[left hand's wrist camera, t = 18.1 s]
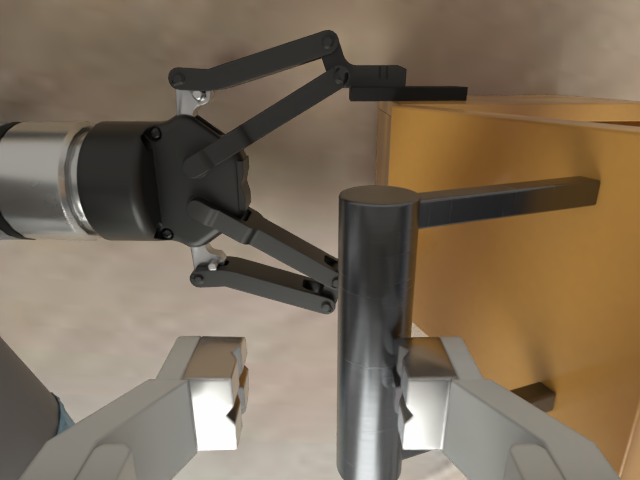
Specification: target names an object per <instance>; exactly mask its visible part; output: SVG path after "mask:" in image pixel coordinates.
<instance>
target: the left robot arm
mask: <svg viewBox="0 0 640 480" xmlns="http://www.w3.org/2000/svg"><path fill="white" fill-rule="evenodd" d="M246 356H247V346H246V340H245V337H211V336H203V337H201V336H181V337H179V338H177V340H176V342H175V344H174V345H173V347H172V349H171V351H170V353H169V355H168V357H167V359H166V360H165V362H164V364H163V366H162V368H161V370H160V372H159V373H158V375H157V377H156V379H149V380H147V381H145V382H144V383H142V384H141V385H139V386H137V387H136V388H134V389H132V390H131V391H129V392H127V393H126V394H124V395H122V396H121V397H119V398H117V399H116V400H114V401H113V402H111V403H109V404H108V405H106V406H104V407H103V408H101V409H99V410H98V411H96V412H94V413H93V414H91V415H89V416H88V417H86V418H85V419H83V420H81V421H80V422H78V423H76V424H75V425H73V426H71V427H70V428H68V429H66V430H65V431H63V432H61V433H60V434H58V435H57V436H55V437H53V438H52V439H50V440H48V441H47V442H46V443H45V444H44V445H43V447H42V448H41V450H40V451H39V452H38V454H37V455H36V456H35V458H34V459H33V460H32V462H31V463H30V464H29V466H28V467H27V468H26V470H25V471H24V473H23V474H22V475H21V477H20V478H19V479H18V480H172V479H173V478H174V476H175V475H176V474H177V473H178V472H179V471H180V470H181V469H182V468H183V467H184V466H185V465H186V464H187V463H188V462H189V461H190V460H191V459H192V458H193V457H194V456H195V455H196V454H197V450H231V449H237V448H238V443H239V439H240V434H241V430H242V414H243V413H244V412H245V411H246V407H247V401H248V391H249V374H248V369H247V368H246V366H245V365H244V364H245V360H246ZM393 357H394V361H395V367H394V368H393V370H392V377H391V395H392V403H393V408H394V411H395V412H396V413H397V414H398V424H397V426H398V431H399V435H400V440H401V444H402V448H403V449H408V450H443V453H444V454H445V456H446V457H447V458H448V459H449V460H450V461H451V462H452V463H453V464H454V465H455V466H456V467H457V468H458V469H459V470H460V471H461V472H462V473H463V474H464V475H465V476H466V478H467V479H468V480H621V478H620V477H619V476H618V474H617V473H616V471H615V470H614V469H613V467H612V466H611V465H610V463H609V462H608V461H607V459H606V458H605V456H604V455H603V454H602V452H601V451H600V450H599V448H598V447H597V446H596V444H595V443H594V442H593V441H591V440H589V439H588V438H586V437H584V436H583V435H581V434H580V433H578V432H576V431H575V430H573V429H571V428H570V427H568V426H566V425H565V424H563V423H562V422H560V421H558V420H557V419H555V418H553V417H552V416H550V415H548V414H547V413H545V412H543V411H542V410H540V409H539V408H537V407H535V406H534V405H532V404H530V403H529V402H527V401H525V400H524V399H522V398H521V397H519V396H517V395H516V394H514V393H512V392H511V391H509V390H507V389H506V388H504V387H502V386H501V385H499V384H498V383H496V382H494V381H493V380H491V379H484V378H483V376H482V374H481V372H480V370H479V368H478V367H477V365H476V363H475V361H474V359H473V357H472V356H471V354H470V352H469V350H468V348H467V346H466V344H465V343H464V341H463V339H462V338H461V337H460V336H442V337H411V338H394V345H393Z"/></svg>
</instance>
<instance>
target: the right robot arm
mask: <svg viewBox="0 0 640 480" xmlns="http://www.w3.org/2000/svg"><path fill="white" fill-rule="evenodd" d="M321 58H322V60H323V63H324V66H325V69H326V72H325V73H323V74H322V75H320V76H319V77H317V78H315V79H314V80H312V81H311V82H309V83H307V84H306V85H304V86H303V87H301V88H299V89H298V90H296V91H295V92H293V93H291V94H290V95H288V96H287V97H285V98H284V99H282V100H280V101H279V102H277V103H276V104H274V105H272V106H271V107H269V108H268V109H266V110H264V111H263V112H261V113H260V114H258V115H256V116H255V117H253V118H252V119H250V120H248V121H247V122H245V123H244V124H242V125H240V126H239V127H237V128H235V129H234V130H232V131H231V132H229V133H227V134H226V135H225V134H224V133H223V132H221V131H220V130H218V129H217V128H215V127H214V126H213V125H211V124H210V123H208V122H207V121H206V120H204V119H203V118H201V117H200V116H198V115H197V114H198V109H199V108H200V106H202V105H204V104H208V103H210V102H211V101H212V100H213V98H214V91H215V90H222V89H228V88H231V87H235V86H238V85H241V84H244V83H247V82H250V81H253V80H256V79H259V78H262V77H266V76H269V75H272V74H275V73H278V72H281V71H284V70H287V69H290V68H293V67H296V66H299V65H303V64H306V63H309V62H312V61H315V60H318V59H321ZM168 79H169V83H170V84H171V86H172V87H174V88H175V89H176V104H177V115H176V116H174V117H173V118H171V119H170V120H168V121H162V122H125V121H105V122H100V123H98V124H96V125H95V124H93V123H90V122H88V121H23V122H11V123H0V239H30V240H35V239H43V240H98V239H100V238H102V237H103V238H104V239H107V240H125V241H163V240H174V241H178V242H181V243H183V244H185V245H187V246H189V247H191V252H192V258H193V264H194V271H193V272H192V274H191V275H190V281H191V283H192V284H193V285H194V286H196V287H222V286H225V287H229V288H233V289H236V290H240V291H243V292H247V293H251V294H254V295H258V296H261V297H265V298H269V299H272V300H276V301H279V302H283V303H287V304H290V305H294V306H297V307H301V308H305V309H308V310H312V311H315V312H319V313H323V314H330V313H332V312H333V311H334V309H335V304H336V301H337V299H338V259H337V258H335V257H333V256H331V255H329V254H328V253H326V252H324V251H322V250H320V249H319V248H317V247H315V246H313V245H311V244H310V243H308V242H306V241H304V240H302V239H301V238H299V237H297V236H295V235H293V234H292V233H290V232H288V231H286V230H285V229H283V228H281V227H279V226H277V225H276V224H274V223H272V222H270V221H268V220H267V219H265V218H264V217H263V216H262V215H261V214H260V213H259V212H257V211H255V210H253V209H252V208H250V207H249V204H250V203H251V194H250V188H249V185H248V182H247V175H248V170H249V157H248V156H246V153H245V151H244V150H243V149H244V148H246V147H247V146H249V145H250V144H252V143H253V142H255V141H257V140H258V139H260V138H261V137H263V136H265V135H266V134H268V133H270V132H271V131H273V130H274V129H276V128H278V127H279V126H281V125H283V124H284V123H286V122H288V121H289V120H291V119H292V118H294V117H296V116H297V115H299V114H301V113H302V112H304V111H305V110H307V109H309V108H310V107H312V106H314V105H315V104H317V103H318V102H320V101H322V100H323V99H325V98H327V97H328V96H330V95H332V94H333V93H335V92H336V91H338V90H340V89H341V88H349V99H350V101H466V99H467V89H468V87H458V86H405V83H406V69H405V68H403V67H400V66H398V65H352V64H350V63H349V62H347V61H346V59H345V58H344V55H343V52H342V49H341V46H340V43H339V39H338V36H337V34H336V33H334V32H333V31H331V30H325V31H322V32H319V33H316V34H313V35H310V36H307V37H304V38H301V39H298V40H295V41H292V42H289V43H286V44H283V45H280V46H277V47H274V48H271V49H268V50H265V51H262V52H258V53H255V54H252V55H249V56H246V57H243V58H240V59H237V60H234V61H231V62H228V63H225V64H222V65H219V66H216V67H213V68H210V69H195V68H179V67H178V68H174V69H172V70H171V71H170V73H169V77H168ZM222 233H223V234H225V235H227V236H229V237H231V238H232V239H234V240H236V241H238V242H240V243H242V244H249V245H252V246H254V247H255V248H257V249H259V250H261V251H263V252H265V253H266V254H268V255H270V256H272V257H274V258H276V259H278V260H279V261H281V262H283V263H285V264H287V265H289V266H290V267H292V268H294V269H296V270H298V271H300V272H301V273H303V274H305V275H307V276H309V277H311V278H309V277H306V276H302V275H299V274H295V273H292V272H288V271H285V270H281V269H278V268H274V267H271V266H267V265H264V264H260V263H256V262H253V261H249V260H246V259H242V258H238V257H231V256H226V254H225V253H224V252H223V251H222V250H217V249H214V248H212V247H211V246H210V244H209V242H211V241H212V240H213V239H215V238H216V237H217V236H219V235H220V234H222ZM73 425H75V423H74V422H73V420H72V419H71V417H70V416H69V415H68V413H67V412H66V410H65V408H64V406H63V403H62V402H61V401H60V398H59V397H57V396H56V395H54V394H53V393H52V392H49V390H48V389H47V388H46V387H45V386H44V385H43V384H42V383H41V382H40V380H39V379H38V378H37V377H36V376H35V375H34V374H33V373H32V372H31V370H30V369H29V368H28V367H27V366H26V365H25V364H24V363H23V362H22V360H21V359H20V358H19V357H18V356H17V355H16V354H15V353H14V352H13V350H12V349H11V348H10V347H9V346H8V345H7V344H6V343H5V342H4V340H3V339H2V338H1V337H0V480H18V479H19V478H20V477H21V475H22V474H23V473H24V471H25V470H26V468H27V467H28V466H29V464H30V463H31V462H32V460H33V459H34V458H35V456H36V455H37V454H38V452H39V451H40V450H41V448H42V447H43V445H44V444H45V443H46V442H47V441H48V440H50V439H52V438H53V437H55V436H57V435H58V434H60V433H61V432H63V431H65V430H66V429H68V428H70V427H71V426H73Z"/></svg>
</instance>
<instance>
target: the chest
mask: <svg viewBox="0 0 640 480" xmlns="http://www.w3.org/2000/svg"><path fill="white" fill-rule="evenodd" d="M397 105H418V106H428V107H439V108H449V109H460V110H470V111H480V112H491V113H501V114H512V115H522V116H533V117H543V118H553V119H564V120H574V121H585V122H595V123H605V124H616V125H626V126H637V127H640V101H628V100H615V99H602V98H590V97H577V96H564V95H467V99H466V101H378V126H377V154H376V181H375V185H382V186H388V177H389V156H390V134H391V113H392V106H397Z"/></svg>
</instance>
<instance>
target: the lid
mask: <svg viewBox="0 0 640 480" xmlns="http://www.w3.org/2000/svg"><path fill="white" fill-rule="evenodd" d="M412 322H413V323H414V324H415V325H416V326H417V327H418V328H420V329H421V330H422V331H423V332H424V333H425V334H426V335H427V336H429V337H442V336H460V337H461V338H462V339H463V341H464V343H465V344H466V346H467V348H468V350H469V352H470V354H471V356H472V357H473V359H474V361H475V363H476V365H477V367H478V368H479V370H480V372H481V374H482V376H483V378H484V379H491V380H493V381H494V382H496V383H498V384H499V385H501V386H502V387H504V388H506V389H507V390H509V391H511V392H512V393H514V394H516V395H517V396H519V397H521V398H522V399H524V400H525V401H527V402H529V403H530V404H532V405H534V406H535V407H537V408H539V409H540V410H542V411H543V412H545V413H547V414H548V415H550V416H552V417H553V418H555V419H557V420H558V421H560V422H562V423H563V424H565V425H566V426H568V427H570V428H571V429H573V430H575V431H576V432H578V433H580V434H581V435H583V436H584V437H586V438H588V439H589V440H591V441H593V442H594V443H595V444H596V446H597V447H598V448H599V450H600V451H601V452H602V454H603V455H604V456H605V458H606V459H607V461H608V462H609V463H610V465H611V466H612V467H613V469H614V470H615V471H616V473H617V474H618V476H619V477H620V478H621V480H640V127H637V126H626V125H616V124H605V123H595V122H585V121H574V120H564V119H553V118H543V117H533V116H522V115H512V114H501V113H491V112H480V111H470V110H460V109H449V108H439V107H428V106H418V105H397V106H392V113H391V134H390V156H389V177H388V186H382V185H370V186H358V187H353V188H349V189H346V190H344V191H342V192H341V193H340V195H339V241H338V357H337V469H338V471H339V473H340V475H341V477H342V478H343V479H344V480H397V479H398V478H399V476H400V473H401V465H402V460H403V459H406V458H410V457H413V456H416V455H419V454H422V453H425V452H428V451H431V450H408V449H403V448H402V444H401V440H400V435H399V431H398V426H397V424H398V414H397V413H396V412H395V411H394V408H393V403H392V395H391V377H392V370H393V368H394V367H395V361H394V357H393V345H394V338H411V327H412Z"/></svg>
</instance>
